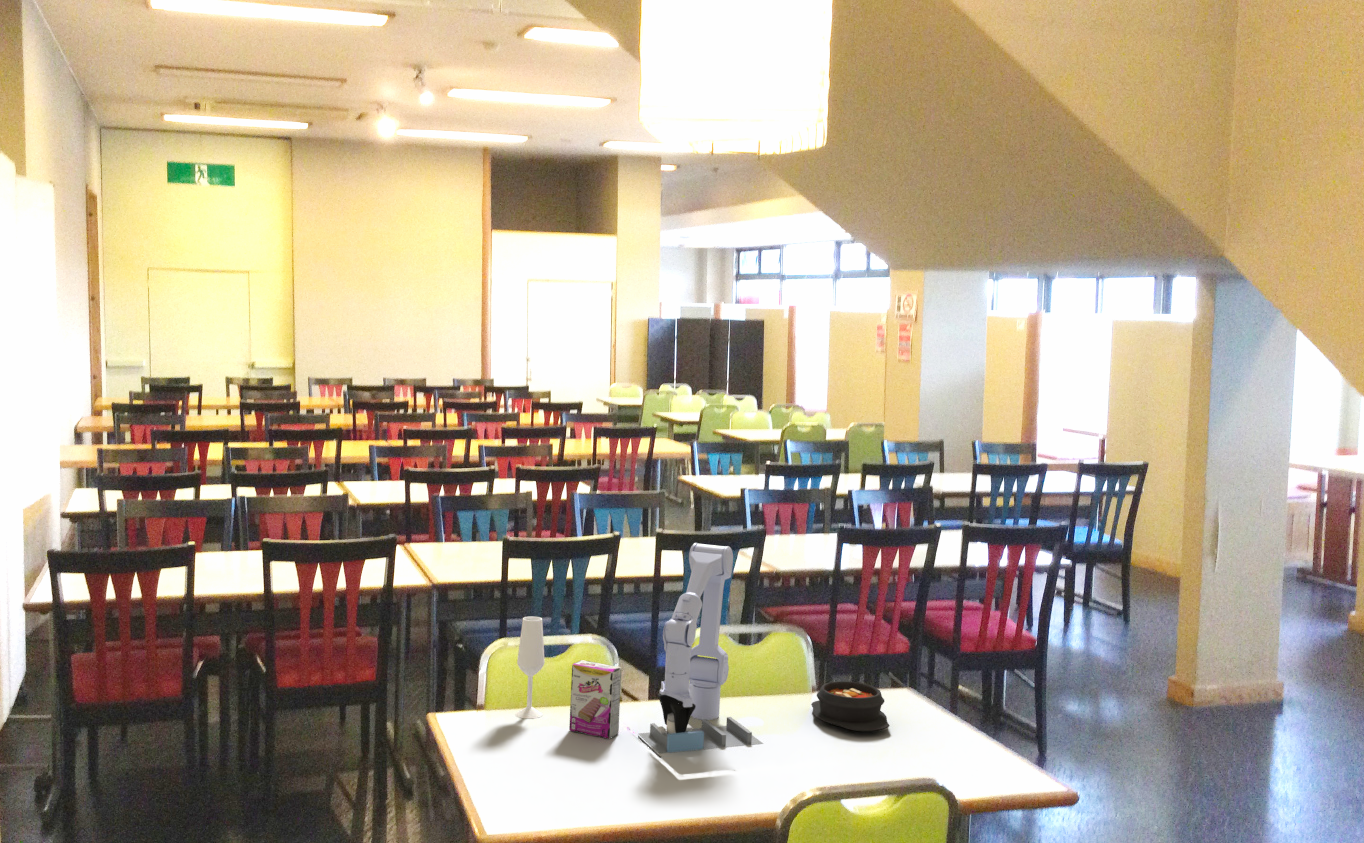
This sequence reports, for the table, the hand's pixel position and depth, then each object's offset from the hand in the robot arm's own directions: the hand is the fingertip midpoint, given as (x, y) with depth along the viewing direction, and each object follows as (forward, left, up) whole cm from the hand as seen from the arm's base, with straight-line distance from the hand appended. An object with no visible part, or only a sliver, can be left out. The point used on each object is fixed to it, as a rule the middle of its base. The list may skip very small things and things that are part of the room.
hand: (674, 728), depth 280 cm
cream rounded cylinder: (0, 0, -3) cm, 3 cm away
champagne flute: (-30, -27, -4) cm, 40 cm away
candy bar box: (-13, -15, -4) cm, 21 cm away
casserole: (-5, +50, -4) cm, 50 cm away
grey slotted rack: (0, +7, -4) cm, 8 cm away
